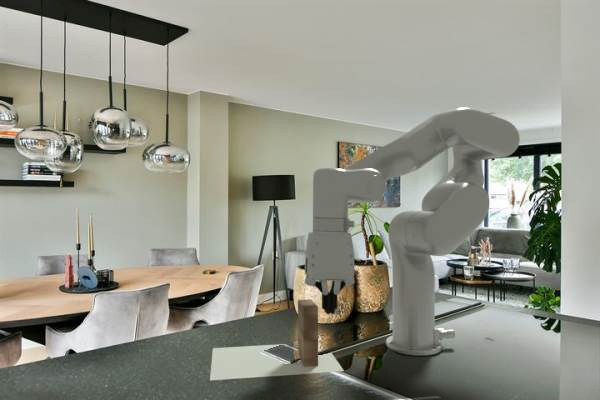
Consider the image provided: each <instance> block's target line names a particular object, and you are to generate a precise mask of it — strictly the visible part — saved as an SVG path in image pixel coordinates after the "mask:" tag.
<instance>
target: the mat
mask: <svg viewBox="0 0 600 400" xmlns="http://www.w3.org/2000/svg"><path fill="white" fill-rule="evenodd" d="M284 344H285V343H283V344H282V343H281V344H279V343H278V344H264V345H248V346H247V345H245V346H232V347H231V346H229V347H227V346H226V347H213V348H212V352H211V353H212V355H211V364H210V376H209V377H210V378H209V381H210V382H211V381H224V380H225V381H226V380H236V379H237V380H238V379H239V380H241V379H250V378H251V379H253V378H265V377H266V378H267V377H269V378H270V377H280V376H281V377H283V376H295V375H311V374H323V373H324V374H325V373H339V372H344V371H345V370H344V369H343V368H342V366H341V365H340V363H339V361H338V360H337V358H336V357H335V356H334V354H333V353H332V352H331V353H328V354H323V355H318V366H309V367H304V366H303V364H302V362H299V363H295V364H285V363H283V362H280V361H279V360H276V359H274V358H271V357H269V356H266V355H263V354H261V353H260V352H261V351H264V350H268V349H270V348H273V347H276V346H279V345H284Z"/></svg>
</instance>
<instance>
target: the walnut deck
mask: <svg viewBox="0 0 600 400" xmlns="http://www.w3.org/2000/svg"><path fill="white" fill-rule="evenodd" d="M318 342H319V307H318V305H317V303H315V302H314V301H313V300H312V299H310V298H309V299H298V300H297V343H298V353H299V356H300V359H301V362H302V364H303V366H304V367H309V366H318Z"/></svg>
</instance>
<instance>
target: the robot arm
mask: <svg viewBox="0 0 600 400" xmlns="http://www.w3.org/2000/svg"><path fill="white" fill-rule="evenodd" d="M520 141H521V140H520V134H519V131H518V128H516V125H514V124H513V123H512V122H510V121H508V120H506V119H504V118H501V117H499V116H496V115H494V114H493V115H492V114H490V113H487V112H484V111H482V110H478V109H475V108H470V107H458V108H454V109H451V110H447V111H444V112H440V113H436V114H434V115H433V116H430V117H429V118H427V119H426V120H424V121H423V122H421V123H420V124H418V125H417V126H415V127H414V128H412V129H411V130H409V131H408V132H406V133H405V134H403V135H401V136H400V137H397V139H395V140H393V141H391V142H389V143H388V144H386V145H384V146H382V147H380V148H378V149H377V150H375V151H373V152H371V153H369V154H367V155H366V156H364V157H362V158H360V159H358V160H357V161H355V162H354V163H352V164H351V165H349V166H347V167H345V168H344V169H343V168H339V167H338V168H337V167H323V168H318V169H316V170H315V171H314V173H313V175H312V176H313V177H312V231H310V232H308V234H307V240H306V249H305V258H304V259H305V260H304V274H305V275H306V276H305V278H304V284H305V285H306V286H310V287H316V288H317V290H318V291H319V292H321V309H322V310H323V312H324V313H325V314H326V315H330V314H332V315H335V314H336V311H335V310H337V309H338V295H339V294H340V292H341V291H342V290H343V289H345V287H347V286H351V285H353V284H355V267H356V266H355V253H354V252H355V251H354V245H353V238H352V233H351V232H349V230H350V228H354V227H355V221H354V220H351V219H350V218H349V204H370V203H371V204H372V203H374V202H375V203H376V202H377V201H379V200H380V199H382V198H383V197H384V196H385V194H386V192H387V189H388V183H387V181H388V180H390V179H394V178H397V177H400V176H401V177H402V176H405V175H408V174H410V173H413V172H415V171H417V170H419V169H421V168H422V167H423V166H425V165H426V164H428V163H429V162H431V161H433V159H435V158H436V157H437V156H439V155H441V154H442V153H443V152H444V151H446V150H447V149H450V148H452V153H453V155H452V156H453V166H452V168H451V169H450V170H449V172H448V173H447V174H445V176H443V177H442V178H441V179H440V180H439V181H437V183H436V184H435V185H434V186H432V187H431V189H429V190H428V191H427V192H426V194H425V195H424V197H423V198H422V201H421V210H406V211H402V212H400V213H397V214H396V215H395V216H394V217H393V218H392V219H391V221H390V223H389V226H388V235H387V236H388V241H389V242H388V243H389V246H390V247H389V248H390V253H391V261H392V264H391V265H392V267H391V268H392V335H389V336H388V337H387V338H386V340H385V345H386V347H387V348H388V349H390V350H392V351H393V352H396V353H398V354H403V355H407V356H419V357H420V356H421V357H422V356H432V355H436V354H438V353H440V352H441V351H442V350H443V343H442V342H441V341H443V339H447V340H449V339H455V337H456V333H455V330H454V329H444V327H443V328H442V327H441V328H438V327H436V326H435V325H436V323H435V321H436V319H435V318H436V307H435V306H436V303H435V302H436V298H435V297H436V294H435V292H436V290H435V288H436V285H435V282H436V279H435V278H436V277H435V275H436V274H435V266H434V262H433V259H432V257H431V256H434V257H444V256H447V255H450V254H451V253H453V252H454V251H456V250H457V248H459V247H460V246H461V245H462V244H463V243H464V242H465V241H466V240H467V238H469V237H470V236H471V234H473V233H474V232H475V231H476V230H477V229H478V227H479V226H480V225H481V224H482V223H483V222H484V220H485V219H486V217H487V215H488V212H489V210H490V197H489V195H488V192H487V190H486V189H485V188H484V187H483V186H484V184H485V177H484V176H485V175H484V171H483V165H482V161H483V160H491V159H499V158H501V159H502V158H506V157H509V156H511V155H513V153H515V151H516V150H517V149H518V148H519V145H520ZM328 281H331V285H330V289H329V287H328Z"/></svg>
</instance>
